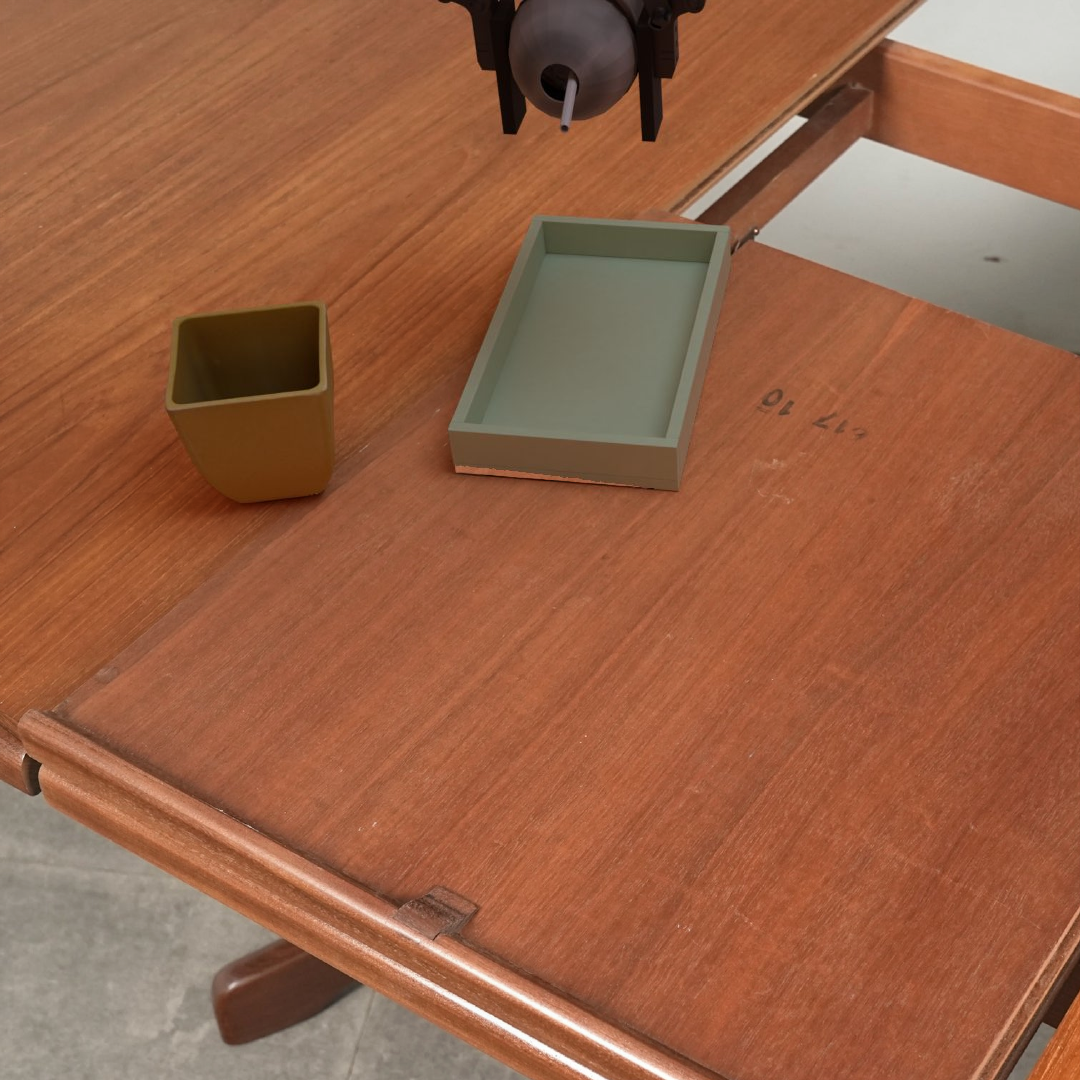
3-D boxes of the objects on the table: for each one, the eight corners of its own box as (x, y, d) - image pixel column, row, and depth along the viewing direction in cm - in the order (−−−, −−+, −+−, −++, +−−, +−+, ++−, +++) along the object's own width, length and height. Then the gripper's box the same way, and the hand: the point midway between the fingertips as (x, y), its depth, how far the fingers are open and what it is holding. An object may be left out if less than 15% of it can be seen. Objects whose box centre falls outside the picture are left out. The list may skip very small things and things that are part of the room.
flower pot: (357, 514, 91) (326, 389, 84) (205, 533, 90) (162, 408, 83) (354, 421, 96) (325, 297, 90) (212, 438, 96) (172, 315, 89)
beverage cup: (551, -113, 89) (465, 48, 76) (676, -100, 88) (612, 65, 75) (554, 12, 94) (475, 183, 81) (672, 25, 94) (611, 199, 81)
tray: (678, 491, 91) (676, 447, 89) (454, 473, 93) (447, 429, 90) (730, 268, 107) (730, 225, 104) (538, 256, 108) (533, 213, 106)
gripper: (772, -367, 72) (767, 102, 89) (355, -373, 74) (428, 85, 91) (753, -317, 67) (751, 169, 84) (307, -324, 69) (393, 150, 86)
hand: (583, 125), depth 88 cm, fingers closed on beverage cup, 7 cm apart
